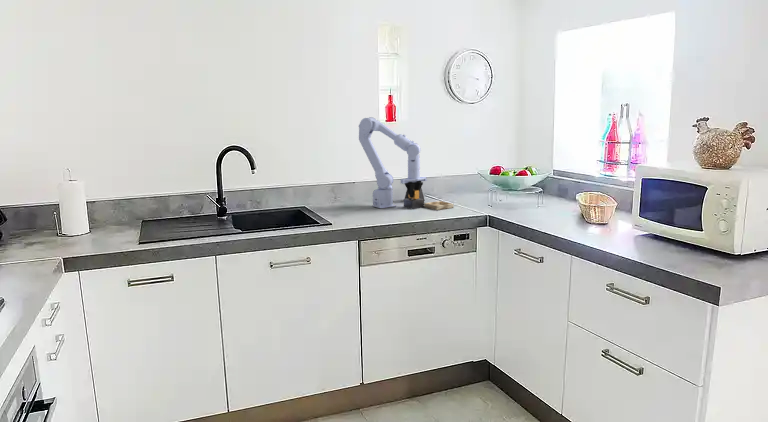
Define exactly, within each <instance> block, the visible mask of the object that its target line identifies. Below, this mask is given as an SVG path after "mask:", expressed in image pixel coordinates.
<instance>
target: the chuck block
mask: <svg viewBox="0 0 768 422" xmlns="http://www.w3.org/2000/svg"><path fill="white" fill-rule="evenodd" d="M424 200H425V198H424V199H420V198H419V199H416V200H412V198H407V199H403V208H405V209H409V210H416V209H423V208H425V207H424V203H425V201H424Z"/></svg>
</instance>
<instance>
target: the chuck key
mask: <svg viewBox="0 0 768 422" xmlns="http://www.w3.org/2000/svg"><path fill="white" fill-rule="evenodd" d="M409 198H411V197H409ZM416 199H419V190H415V189H414V194H413V198H412V200H416Z"/></svg>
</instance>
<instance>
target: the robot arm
mask: <svg viewBox="0 0 768 422" xmlns="http://www.w3.org/2000/svg"><path fill="white" fill-rule="evenodd" d="M374 131H375V132H380V133H382V134H384V135H385V136H386V137H388V138H390V139H391V140H393V143H394V145H395V146H397V147H398V148H400V149H401V150H402V151H404V152H406V154H407V178H405V177H404V178H401V179H400V184H401V185H402V184H403V185H405V187H406V191H407V190H408V193H409V197H411V198H413V194H414V189H415V190H419V192H420V189H421V188H422V186H423V185H424V182H427V181H428V177H427V176H421V171H420V169H421V160H420V153H421V151H422V150H421V146H420V145H419V144H418V143H417V142H415V141H414V140H410V138H408V137H407V135H406V134H402V133H399V134H398V133H396V132H395V131H394V130H392V129H391V128H389V127H388V126H387V125H386V124H384V123H383V122H381V121H380V120H378V119H376V118H374V117H372V116H371V117H370V116H369V117H364V118H362V119H361V120H360V121H359V124H358V140H359V143H360V145H361V147H362V148H363V151H364V153H365V154H366V157H367V159H368V161H369V162H370V165H371V167H372V168H373V170H374V175H375V177H374V178H376V185H377V189H374V190H373V192H372V206H371V207H375V208H378V209H386V208H393V207H397V204H394V202H393V201H394V199H393V198H394V191H393V189H394V188H393V186H392V185H393V183H394V177H393V175H392V174H391V173H390V172H389V171H388V169H386V167H385V166H384V164H383V161H382V160H381V158H380V156H379V153H378V151H377V150H376V148H375V145H374V144H373V142H372V139H371V137H372V134H373V132H374ZM412 182H413V183H412Z"/></svg>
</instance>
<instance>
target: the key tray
mask: <svg viewBox="0 0 768 422" xmlns="http://www.w3.org/2000/svg"><path fill="white" fill-rule="evenodd" d="M454 206H455V205H454V203H451V202H447V201H442V200H437V201H429V202H424V208H426V209H429V210H434V211H441V210H442V211H443V210H449V209H454Z"/></svg>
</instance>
